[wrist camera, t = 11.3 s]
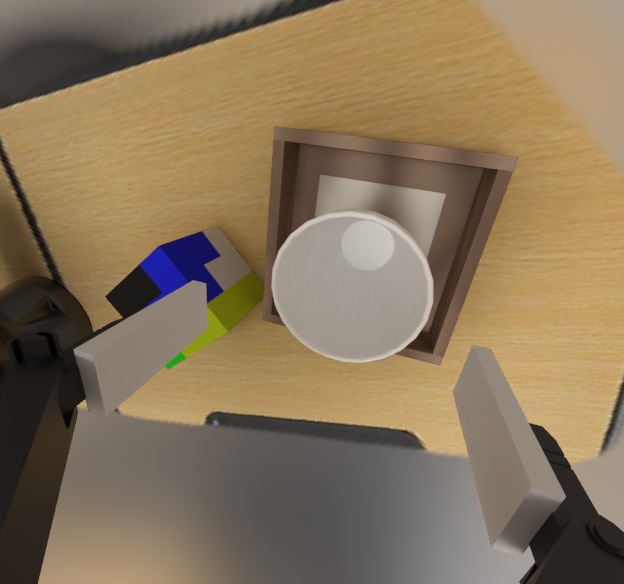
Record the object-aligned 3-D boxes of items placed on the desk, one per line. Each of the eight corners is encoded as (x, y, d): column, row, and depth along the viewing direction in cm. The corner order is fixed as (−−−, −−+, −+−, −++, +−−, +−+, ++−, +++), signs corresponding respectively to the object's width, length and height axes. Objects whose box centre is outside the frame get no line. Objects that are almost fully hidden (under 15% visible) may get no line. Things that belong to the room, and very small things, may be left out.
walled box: (278, 301, 38) (261, 319, 34) (293, 131, 30) (274, 126, 26) (435, 339, 35) (440, 365, 30) (498, 157, 27) (518, 156, 22)
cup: (411, 178, 28) (419, 189, 16) (428, 283, 31) (445, 357, 19) (307, 206, 32) (249, 233, 20) (331, 298, 35) (295, 368, 23)
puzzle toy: (218, 225, 36) (159, 245, 28) (268, 292, 38) (228, 332, 29) (169, 267, 41) (105, 296, 32) (216, 326, 42) (167, 369, 34)
